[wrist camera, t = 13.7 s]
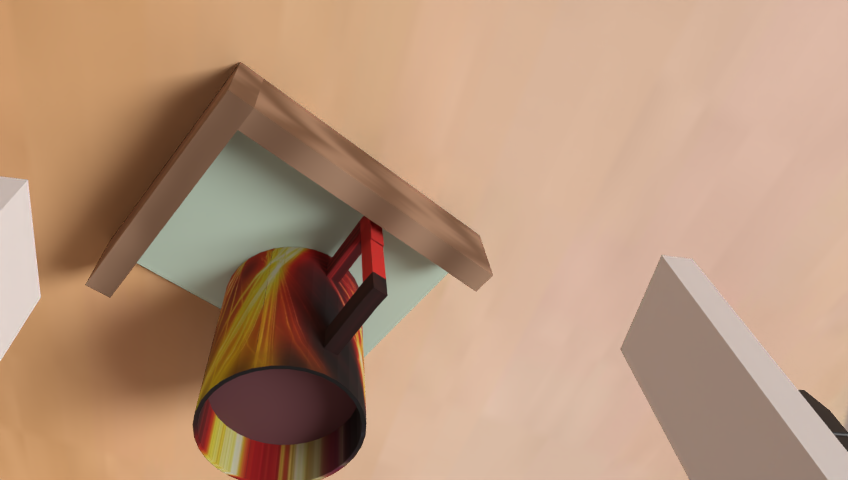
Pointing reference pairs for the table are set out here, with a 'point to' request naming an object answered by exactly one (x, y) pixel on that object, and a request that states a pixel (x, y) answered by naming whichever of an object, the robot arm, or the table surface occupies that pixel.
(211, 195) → the mat
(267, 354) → the mug
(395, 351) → the table surface
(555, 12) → the table surface
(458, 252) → the walls
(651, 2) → the table surface
